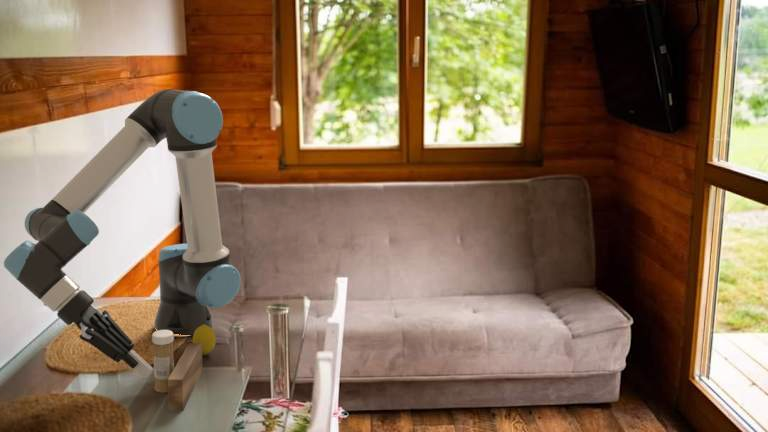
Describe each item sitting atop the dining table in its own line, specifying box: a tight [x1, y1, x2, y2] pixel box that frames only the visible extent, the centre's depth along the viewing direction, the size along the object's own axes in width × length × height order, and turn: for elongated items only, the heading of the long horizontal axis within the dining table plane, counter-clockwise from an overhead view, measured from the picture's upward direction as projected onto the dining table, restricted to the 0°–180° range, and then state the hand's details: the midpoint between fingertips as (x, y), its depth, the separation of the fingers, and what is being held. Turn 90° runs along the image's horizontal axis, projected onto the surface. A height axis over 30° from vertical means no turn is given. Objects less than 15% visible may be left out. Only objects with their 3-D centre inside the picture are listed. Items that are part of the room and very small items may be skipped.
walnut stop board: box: [167, 342, 203, 411], centre depth 174 cm, size 3×20×7 cm, turn 1°
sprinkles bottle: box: [151, 330, 175, 394], centre depth 173 cm, size 5×5×14 cm
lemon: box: [192, 324, 217, 356], centre depth 193 cm, size 6×6×8 cm
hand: (148, 373), depth 173 cm, fingers closed
